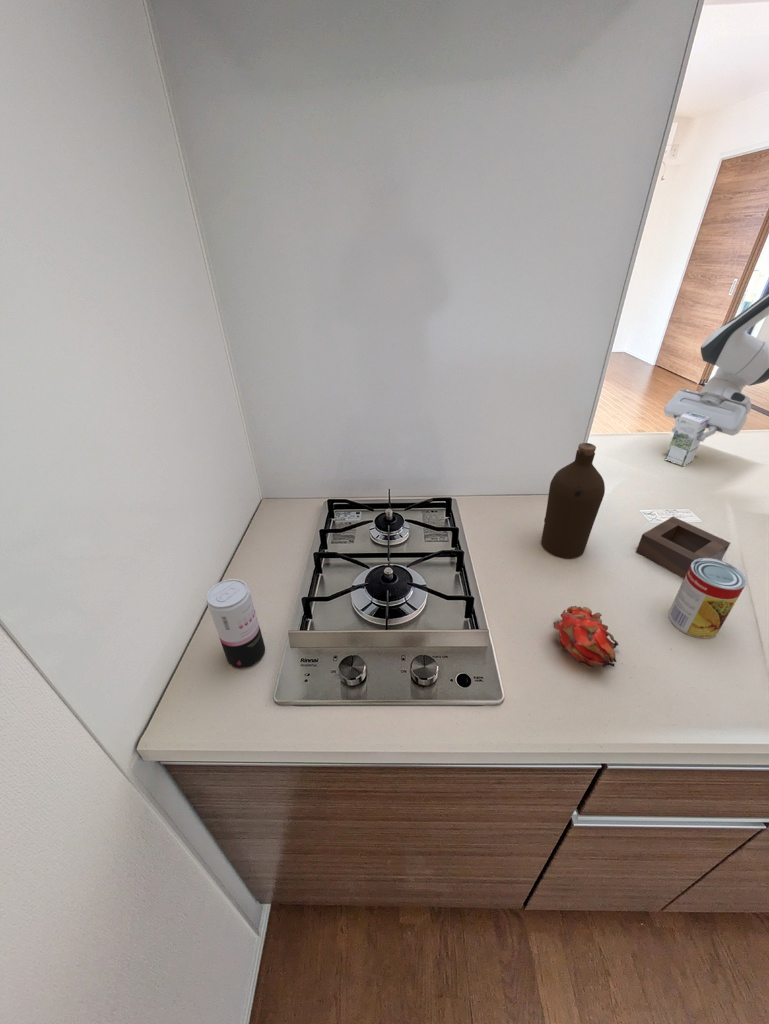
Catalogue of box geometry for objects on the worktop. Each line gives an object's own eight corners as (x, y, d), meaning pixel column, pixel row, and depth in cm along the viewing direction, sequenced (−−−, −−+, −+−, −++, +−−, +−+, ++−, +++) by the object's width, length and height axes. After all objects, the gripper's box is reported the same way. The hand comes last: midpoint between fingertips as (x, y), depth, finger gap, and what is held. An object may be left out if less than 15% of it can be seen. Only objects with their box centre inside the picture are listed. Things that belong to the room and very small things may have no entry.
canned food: (728, 632, 78) (758, 582, 71) (693, 643, 76) (721, 593, 69) (691, 602, 84) (715, 553, 77) (658, 611, 82) (680, 563, 76)
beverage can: (219, 659, 76) (196, 597, 68) (247, 634, 80) (229, 573, 72) (246, 676, 73) (225, 613, 65) (273, 648, 78) (257, 586, 69)
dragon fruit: (558, 627, 82) (600, 685, 73) (533, 621, 77) (576, 683, 68) (593, 598, 78) (641, 656, 70) (569, 590, 73) (618, 651, 65)
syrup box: (692, 461, 131) (711, 416, 123) (682, 467, 129) (701, 421, 121) (673, 455, 135) (690, 410, 127) (663, 460, 133) (679, 415, 125)
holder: (665, 533, 102) (673, 516, 100) (721, 561, 94) (730, 542, 91) (635, 552, 97) (642, 534, 94) (691, 582, 89) (700, 563, 86)
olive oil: (597, 557, 96) (629, 454, 82) (551, 563, 95) (576, 460, 81) (571, 529, 105) (596, 432, 91) (530, 535, 103) (549, 437, 89)
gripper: (678, 381, 131) (650, 419, 132) (756, 400, 117) (723, 442, 118) (681, 393, 136) (654, 430, 137) (757, 412, 121) (725, 453, 122)
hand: (686, 436), depth 127 cm, fingers closed on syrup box, 6 cm apart
